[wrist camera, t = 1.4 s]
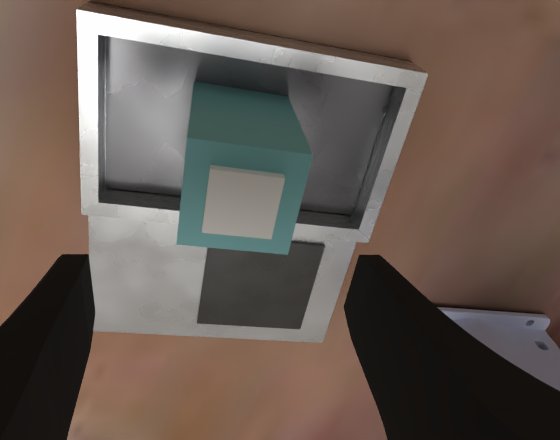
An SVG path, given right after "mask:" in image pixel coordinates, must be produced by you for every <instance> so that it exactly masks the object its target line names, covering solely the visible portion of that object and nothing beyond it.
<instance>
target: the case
mask: <svg viewBox="0 0 560 440" xmlns="http://www.w3.org/2000/svg"><path fill="white" fill-rule="evenodd" d="M76 15H77V55H78V94H79V134H80V174H81V213H82V215H91V216H101V217H111V218H121V219H132V220H142V221H152V222H162V223H172V224H178V222H179V212H180V202H181V192H182V182H183V172H184V162H185V152H186V143H187V134H188V126H189V118H190V109H191V101H192V93H193V85H194V81H195V82H201V83H207V84H213V85H220V86H226V87H232V88H238V89H245V90H251V91H257V92H263V93H269V94H276V95H282V96H288V97H289V99H290V102H291V104H292V106H293V109H294V111H295V113H296V116H297V118H298V121H299V123H300V125H301V128H302V130H303V132H304V135H305V137H306V139H307V142H308V144H309V146H310V149H311V151H312V154H313V158H312V162H311V166H310V169H309V173H308V177H307V181H306V185H305V189H304V193H303V197H302V201H301V205H300V209H299V213H298V217H297V221H296V225H295V229H294V233H293V236H303V237H313V238H324V239H334V240H344V241H354V242H364V243H368V242H369V239H370V236H371V234H372V231H373V228H374V225H375V222H376V220H377V217H378V214H379V211H380V208H381V206H382V203H383V200H384V197H385V194H386V192H387V189H388V186H389V183H390V180H391V177H392V175H393V172H394V169H395V166H396V163H397V161H398V158H399V155H400V152H401V149H402V147H403V144H404V141H405V138H406V135H407V133H408V130H409V127H410V124H411V121H412V119H413V116H414V113H415V110H416V107H417V105H418V102H419V99H420V96H421V93H422V91H423V88H424V85H425V82H426V79H427V76H428V73H427V72H425V71H424V70H422V69H421V68H420V67H418V66H417V65H415V64H414V63H413V62H411V61H406V60H401V59H396V58H390V57H385V56H380V55H374V54H369V53H364V52H358V51H353V50H348V49H342V48H337V47H332V46H326V45H321V44H316V43H310V42H305V41H299V40H294V39H289V38H283V37H278V36H273V35H267V34H262V33H257V32H251V31H246V30H241V29H235V28H230V27H225V26H219V25H214V24H209V23H203V22H198V21H192V20H187V19H182V18H176V17H171V16H166V15H160V14H155V13H150V12H144V11H139V10H134V9H128V8H123V7H118V6H112V5H107V4H102V3H96V2H91V1H89V2H87V3H86V4H84V5H83V6H81V7H79V8H78V9H76Z"/></svg>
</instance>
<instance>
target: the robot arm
mask: <svg viewBox="0 0 560 440" xmlns="http://www.w3.org/2000/svg"><path fill="white" fill-rule="evenodd" d="M344 310H345V315H346V319H347V324H348V328H349V332H350V336H351V339H352V342H353V345H354V348H355V350H356V353H357V356H358V358H359V361H360V363H361V366H362V369H363V371H364V374H365V376H366V379H367V381H368V384H369V387H370V389H371V392H372V394H373V397H374V400H375V402H376V405H377V407H378V410H379V413H380V416H381V419H382V422H383V425H384V428H385V432H386V436H387V439H388V440H560V349H559V348H558V346H557V345H556V344H555V343H554V341H553V340H552V339H551V338H550V336H549V335H548V334H547V333H546V331H545V330H546V329H547V327H548V326H549V324H550V319H549V318H548V317H547V316H546V315H543V314H529V313H515V312H501V311H487V310H473V309H459V308H445V307H436V306H435V305H434V304H433V303H432V302H430V301H429V300H428V299H427V298H426V297H425V296H424V295H423V294H422V293H420V292H419V291H418V290H417V289H416V288H415V287H414V286H413V285H412V284H411V283H410V282H409V281H407V280H406V279H405V278H404V277H403V276H402V275H401V274H400V273H399V272H398V271H397V270H396V269H395V268H394V267H392V266H391V265H390V264H389V263H388V262H387V261H386V260H385V259H384V258H382V257H381V256H380V255H359V257H358V261H357V264H356V267H355V271H354V274H353V278H352V281H351V284H350V288H349V291H348V294H347V298H346V301H345V304H344ZM94 320H95V304H94V296H93V287H92V279H91V270H90V262H89V254H62V255H61V256H60V257H59V258H58V259H57V260H56V262H55V263H54V264H53V266H52V267H51V268H50V269H49V271H48V272H47V273H46V274H45V276H44V277H43V278H42V279H41V281H40V282H39V283H38V284H37V286H36V287H35V288H34V289H33V290H32V292H31V293H30V294H29V295H28V296H27V297H26V299H25V300H24V301H23V302H22V303H21V304H20V305H19V306H18V308H17V309H16V310H15V311H14V312H13V313H12V314H11V315H10V317H9V318H8V319H7V320H6V321H5V322H4V323H3V324H2V325H1V326H0V440H67V436H68V431H69V428H70V424H71V420H72V417H73V413H74V409H75V405H76V402H77V398H78V394H79V391H80V387H81V383H82V379H83V376H84V372H85V368H86V364H87V361H88V357H89V353H90V349H91V342H92V335H93V328H94Z"/></svg>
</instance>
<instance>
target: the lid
mask: <svg viewBox="0 0 560 440" xmlns="http://www.w3.org/2000/svg"><path fill="white" fill-rule="evenodd" d="M88 217H89V262H90V270H91V279H92V287H93V296H94V304H95V320H94V328H93V331H104V332H124V333H143V334H162V335H182V336H201V337H221V338H240V339H259V340H279V341H298V342H318V343H322V342H323V339H324V336H325V333H326V331H327V328H328V325H329V322H330V319H331V316H332V313H333V310H334V307H335V304H336V301H337V298H338V295H339V292H340V289H341V287H342V284H343V281H344V278H345V275H346V272H347V269H348V266H349V263H350V260H351V257H352V254H353V251H354V248H355V245H356V242H354V241H344V240H334V239H324V238H313V237H303V236H293V237H292V241H291V245H290V248H289V252H288V255H285V254H274V253H263V252H252V251H241V250H229V249H218V248H207V247H196V246H185V245H176V242H177V232H178V224H172V223H162V222H152V221H142V220H132V219H121V218H111V217H101V216H91V215H88Z"/></svg>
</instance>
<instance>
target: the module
mask: <svg viewBox="0 0 560 440" xmlns="http://www.w3.org/2000/svg"><path fill="white" fill-rule="evenodd" d="M312 158H313V154H312V151H311V149H310V146H309V144H308V142H307V139H306V137H305V135H304V132H303V130H302V128H301V125H300V123H299V121H298V118H297V116H296V113H295V111H294V109H293V106H292V104H291V102H290V99H289V97H288V96H282V95H276V94H269V93H263V92H257V91H251V90H245V89H238V88H232V87H226V86H220V85H213V84H207V83H201V82H195V81H194V85H193V93H192V101H191V109H190V118H189V126H188V134H187V143H186V152H185V162H184V172H183V182H182V192H181V202H180V212H179V222H178V232H177V242H176V245H185V246H196V247H207V248H218V249H229V250H241V251H252V252H263V253H274V254H285V255H288V252H289V248H290V245H291V241H292V237H293V233H294V229H295V225H296V221H297V217H298V213H299V209H300V205H301V201H302V197H303V193H304V189H305V185H306V181H307V177H308V173H309V169H310V166H311V162H312Z"/></svg>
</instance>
